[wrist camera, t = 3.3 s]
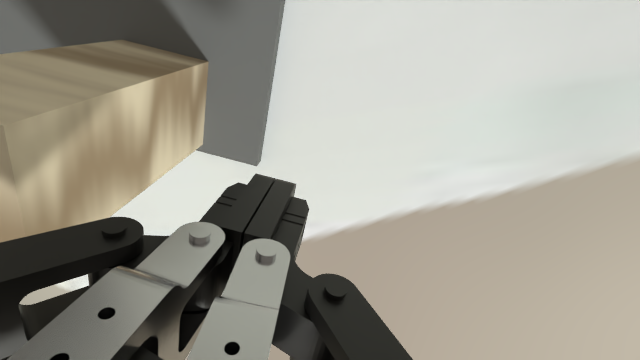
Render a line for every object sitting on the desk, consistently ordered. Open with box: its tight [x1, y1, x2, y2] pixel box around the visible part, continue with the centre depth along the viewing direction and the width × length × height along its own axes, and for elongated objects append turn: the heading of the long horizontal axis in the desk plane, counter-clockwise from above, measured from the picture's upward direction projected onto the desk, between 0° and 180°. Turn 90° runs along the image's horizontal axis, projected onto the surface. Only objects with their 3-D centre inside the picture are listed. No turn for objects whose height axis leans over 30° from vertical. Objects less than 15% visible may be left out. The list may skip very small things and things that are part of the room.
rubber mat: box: [0, 0, 285, 166], centre depth 20 cm, size 10×22×1 cm, turn 78°
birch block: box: [0, 40, 209, 242], centre depth 15 cm, size 5×5×12 cm
